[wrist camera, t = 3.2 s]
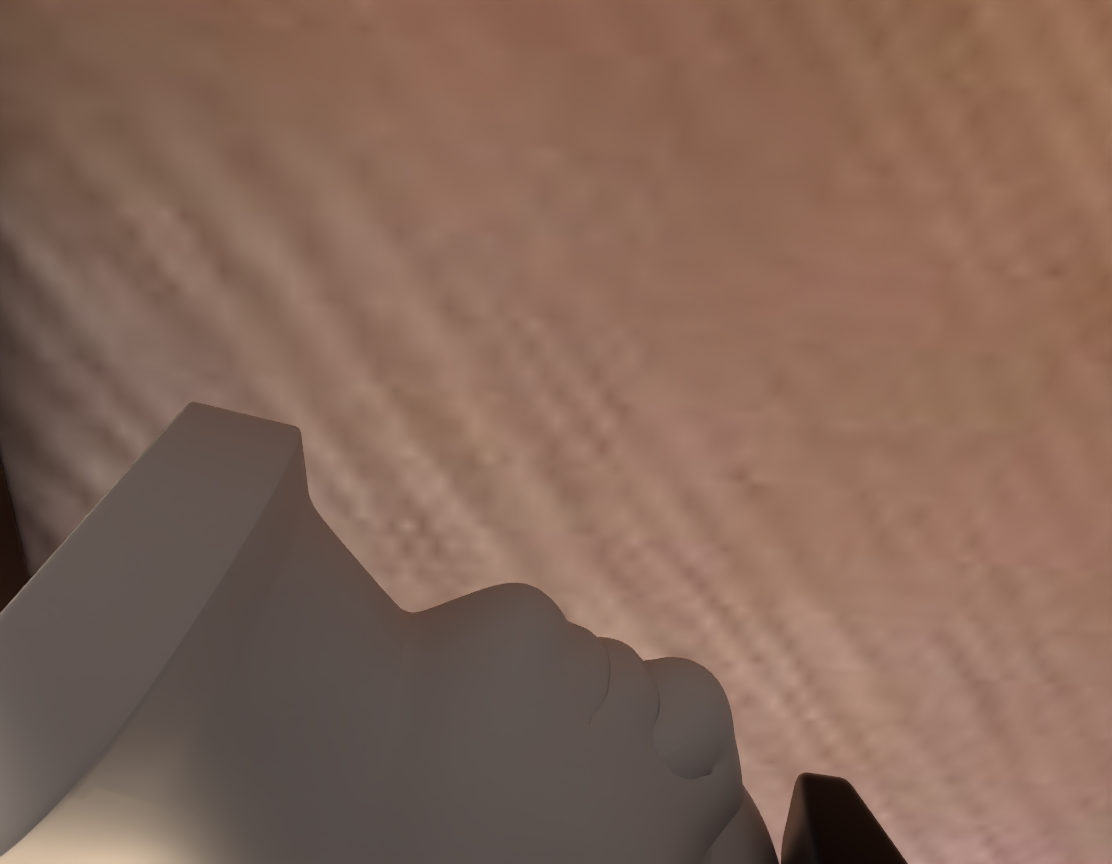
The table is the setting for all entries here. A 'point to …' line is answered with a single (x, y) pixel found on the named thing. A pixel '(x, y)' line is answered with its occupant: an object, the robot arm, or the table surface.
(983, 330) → the table surface
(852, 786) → the robot arm
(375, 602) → the smooth white sculpture
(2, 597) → the flat display stand
